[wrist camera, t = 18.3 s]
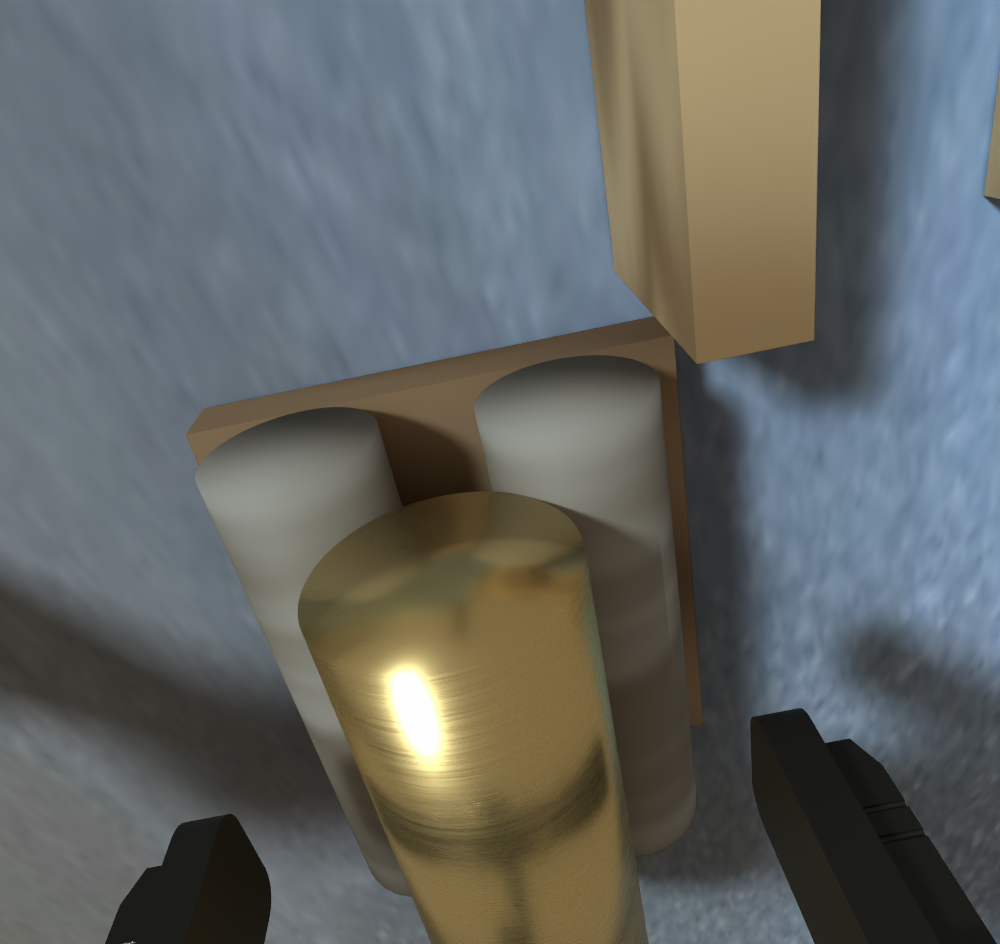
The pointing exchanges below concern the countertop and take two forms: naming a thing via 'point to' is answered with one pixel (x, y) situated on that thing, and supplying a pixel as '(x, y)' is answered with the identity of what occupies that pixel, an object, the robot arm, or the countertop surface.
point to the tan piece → (716, 164)
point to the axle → (481, 717)
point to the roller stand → (484, 468)
